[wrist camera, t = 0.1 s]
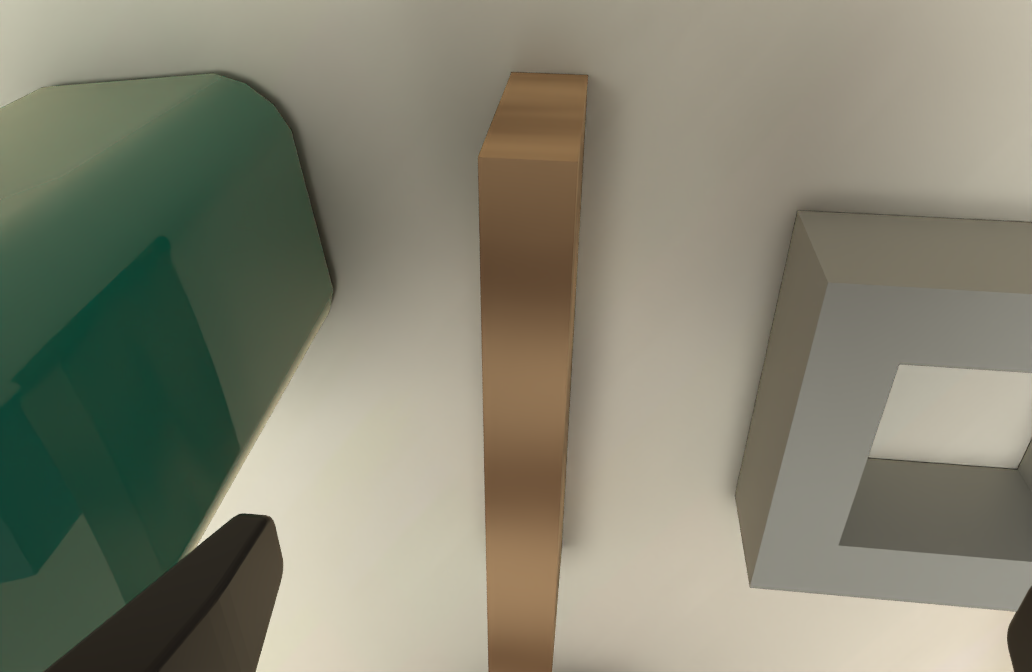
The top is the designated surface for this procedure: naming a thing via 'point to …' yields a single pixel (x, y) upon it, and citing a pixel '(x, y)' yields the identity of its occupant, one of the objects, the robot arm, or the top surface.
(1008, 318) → the holder block
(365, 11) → the top surface
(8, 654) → the pitcher
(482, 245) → the walnut wall
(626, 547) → the top surface
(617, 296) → the top surface
